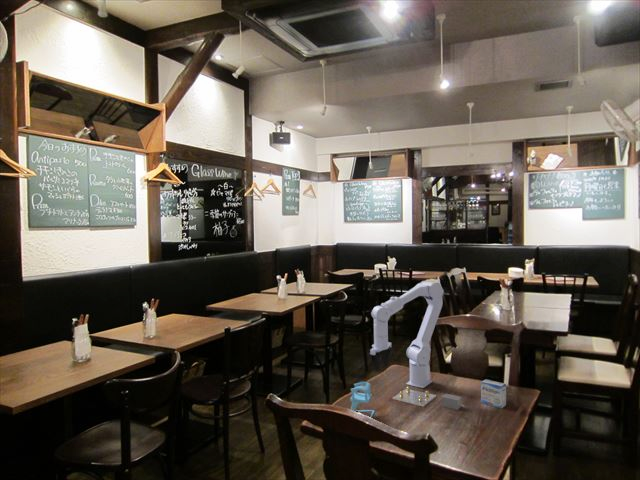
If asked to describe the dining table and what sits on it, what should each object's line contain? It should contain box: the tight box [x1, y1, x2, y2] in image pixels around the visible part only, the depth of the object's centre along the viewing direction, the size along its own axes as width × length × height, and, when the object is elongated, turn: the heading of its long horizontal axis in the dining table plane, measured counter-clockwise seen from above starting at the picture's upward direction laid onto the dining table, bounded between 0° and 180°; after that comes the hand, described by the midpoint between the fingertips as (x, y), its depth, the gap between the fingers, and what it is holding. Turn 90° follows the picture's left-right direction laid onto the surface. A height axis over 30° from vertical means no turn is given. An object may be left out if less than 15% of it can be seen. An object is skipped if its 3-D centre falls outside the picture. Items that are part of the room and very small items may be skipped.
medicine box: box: [480, 378, 507, 409], centre depth 164 cm, size 8×4×9 cm, turn 47°
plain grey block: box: [441, 393, 462, 411], centre depth 163 cm, size 9×11×5 cm
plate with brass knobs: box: [392, 386, 437, 407], centre depth 172 cm, size 12×13×3 cm
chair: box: [349, 381, 375, 417], centre depth 157 cm, size 8×8×12 cm
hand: (381, 368), depth 181 cm, fingers open, 7 cm apart
